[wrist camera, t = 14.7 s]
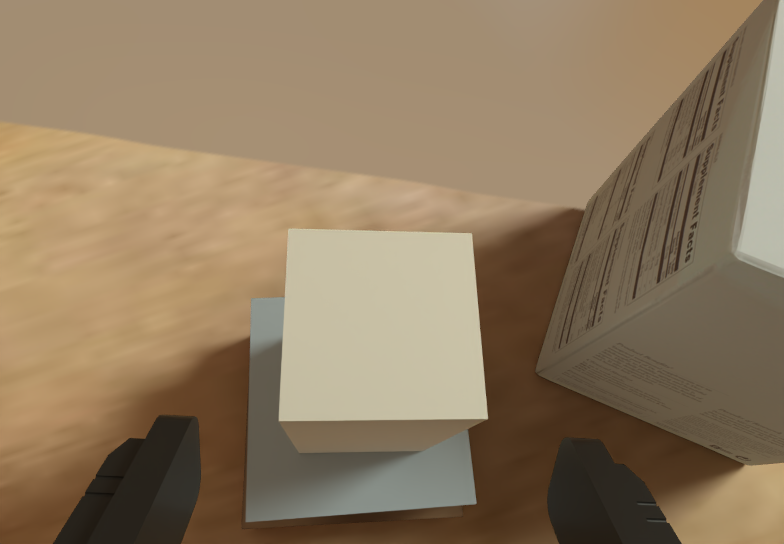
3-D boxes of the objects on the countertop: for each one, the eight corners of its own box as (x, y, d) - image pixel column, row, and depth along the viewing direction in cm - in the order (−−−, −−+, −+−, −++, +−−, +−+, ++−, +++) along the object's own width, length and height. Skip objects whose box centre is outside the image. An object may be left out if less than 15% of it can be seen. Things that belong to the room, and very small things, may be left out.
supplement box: (776, 273, 36) (1127, 96, 20) (749, 470, 31) (1188, 441, 15) (585, 197, 37) (778, -32, 21) (530, 376, 32) (727, 255, 16)
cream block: (417, 332, 25) (471, 233, 15) (422, 451, 23) (487, 419, 13) (303, 331, 24) (288, 228, 15) (298, 453, 22) (278, 421, 13)
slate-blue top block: (436, 317, 29) (451, 291, 25) (455, 503, 26) (476, 504, 22) (261, 324, 28) (251, 298, 24) (258, 518, 25) (245, 522, 21)
